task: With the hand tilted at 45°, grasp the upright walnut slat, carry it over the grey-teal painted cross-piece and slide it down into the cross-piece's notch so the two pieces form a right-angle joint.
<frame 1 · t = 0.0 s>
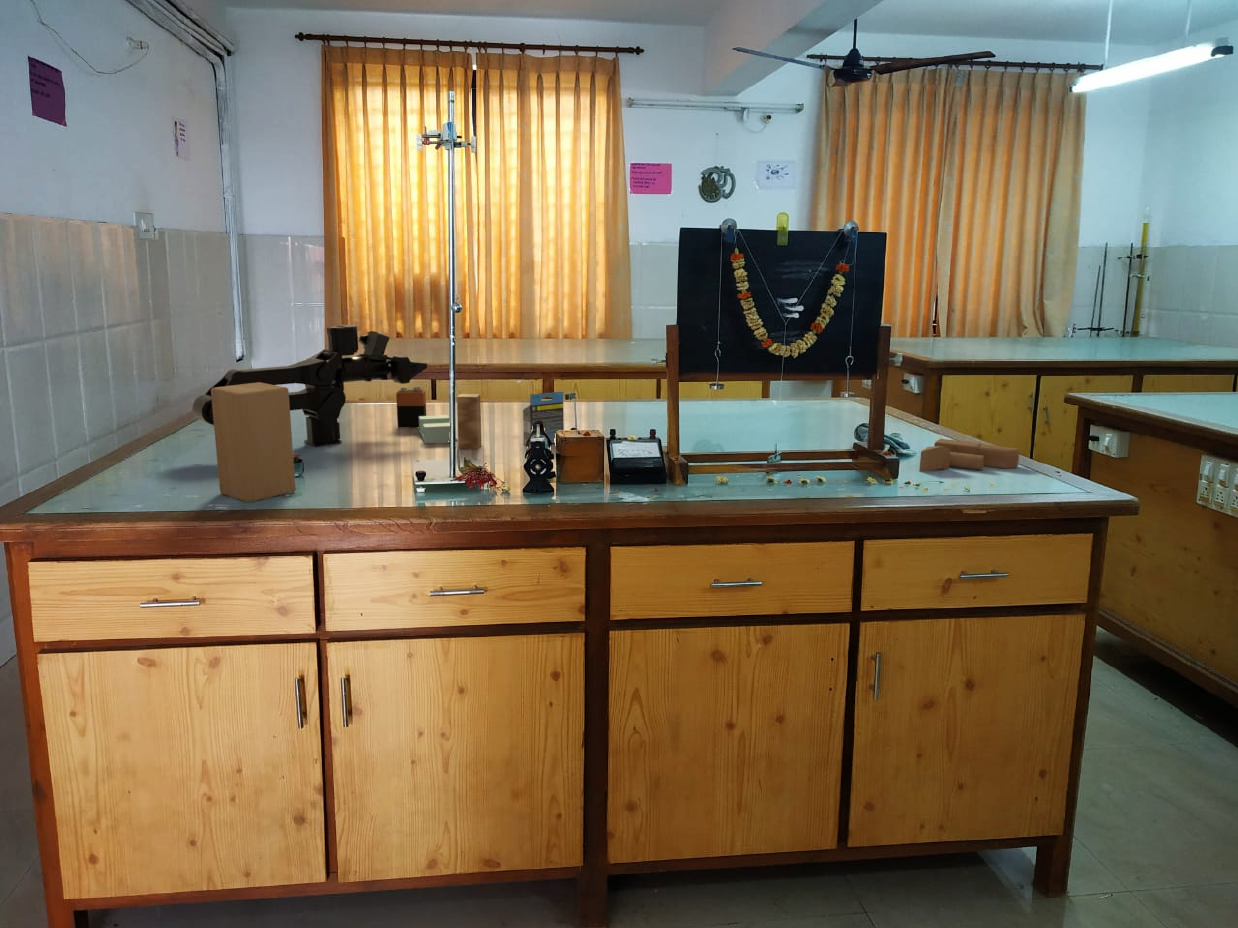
hand: (417, 363, 233), 17 cm above the table, tool horizontal, fingers open, 9 cm apart
label tape cartridge: (543, 444, 223), on the table
wooden block set: (966, 471, 203), on the table
wooden block: (258, 494, 178), on the table
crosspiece: (436, 437, 228), on the table
slat: (470, 446, 218), on the table
battery: (412, 427, 241), on the table
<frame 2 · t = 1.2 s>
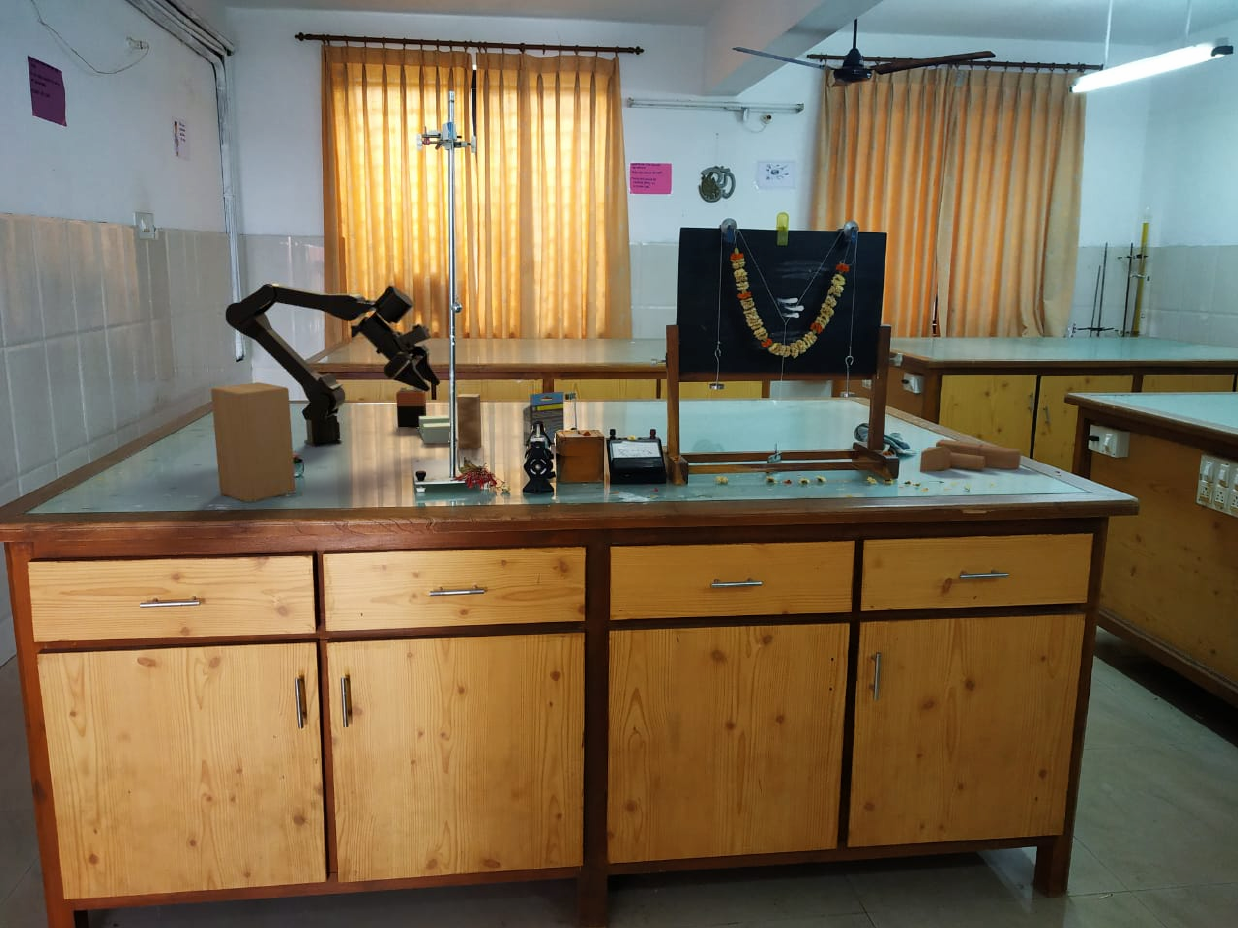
hand: (434, 387, 216), 14 cm above the table, tool tilted 45°, fingers open, 9 cm apart
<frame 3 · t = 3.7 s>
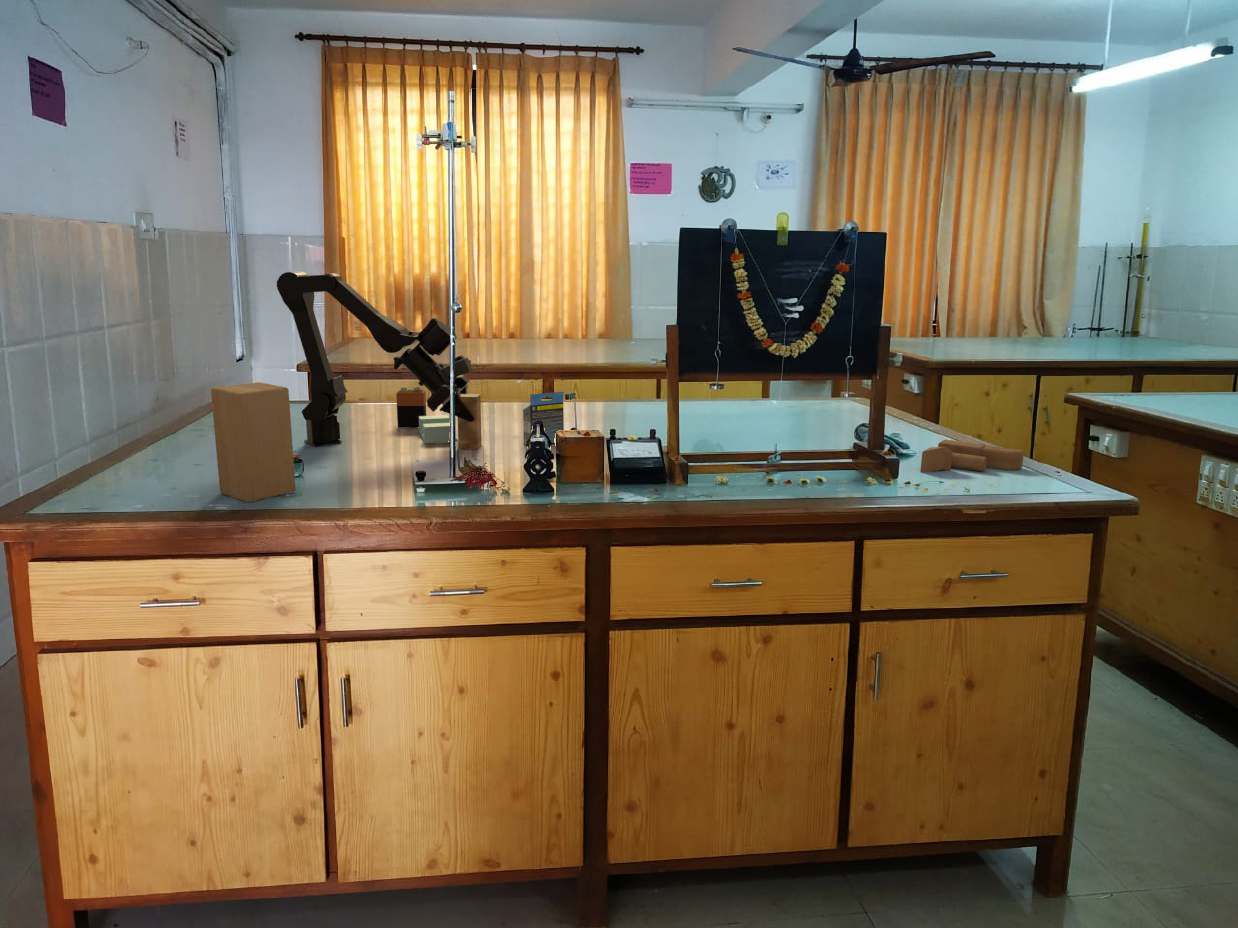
hand: (475, 418, 217), 7 cm above the table, tool tilted 45°, fingers closed on slat, 4 cm apart
slat: (470, 446, 218), on the table, touching gripper
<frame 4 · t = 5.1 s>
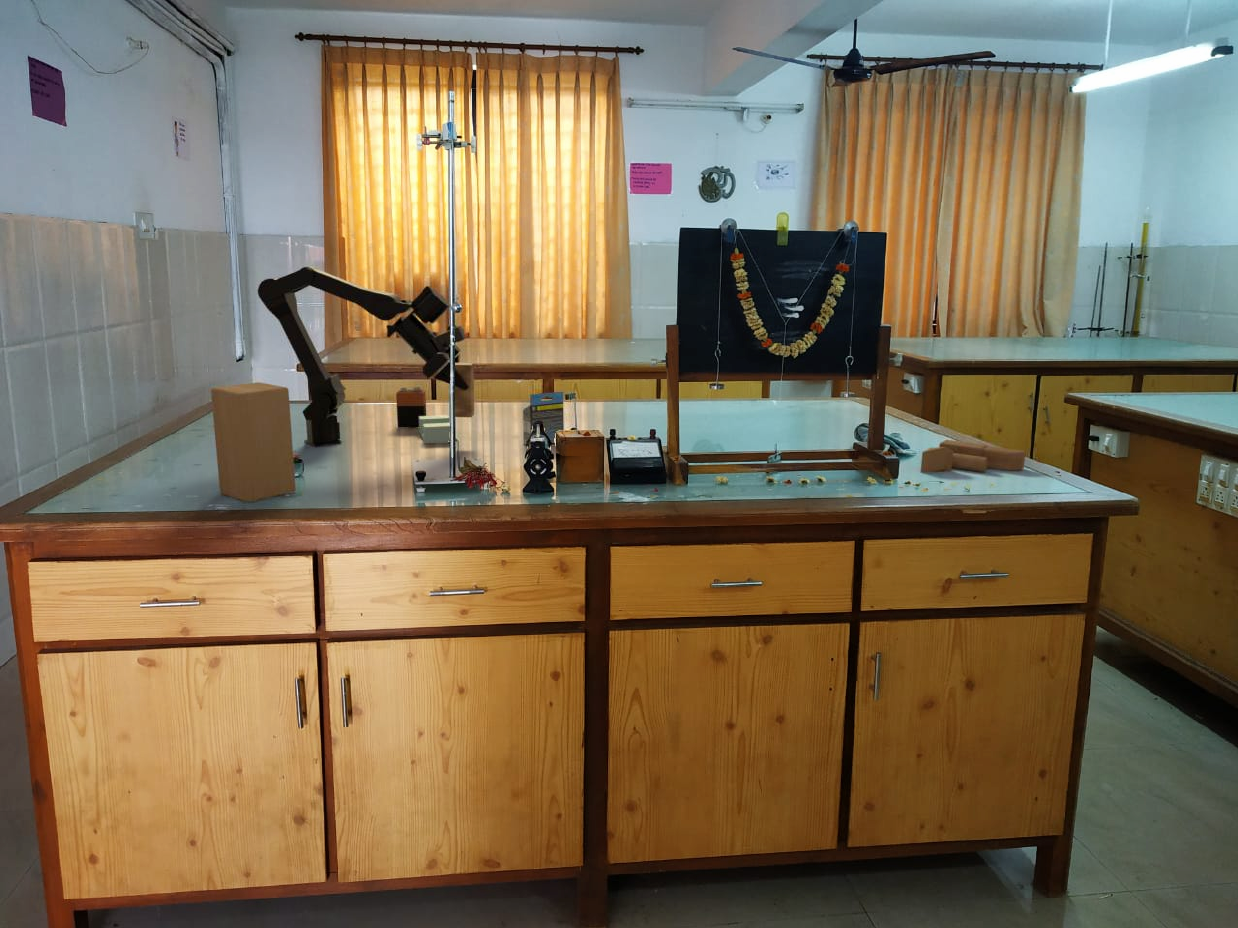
hand: (468, 387, 218), 13 cm above the table, tool tilted 45°, fingers closed on slat, 4 cm apart
slat: (463, 415, 219), point 7 cm above the table, touching gripper
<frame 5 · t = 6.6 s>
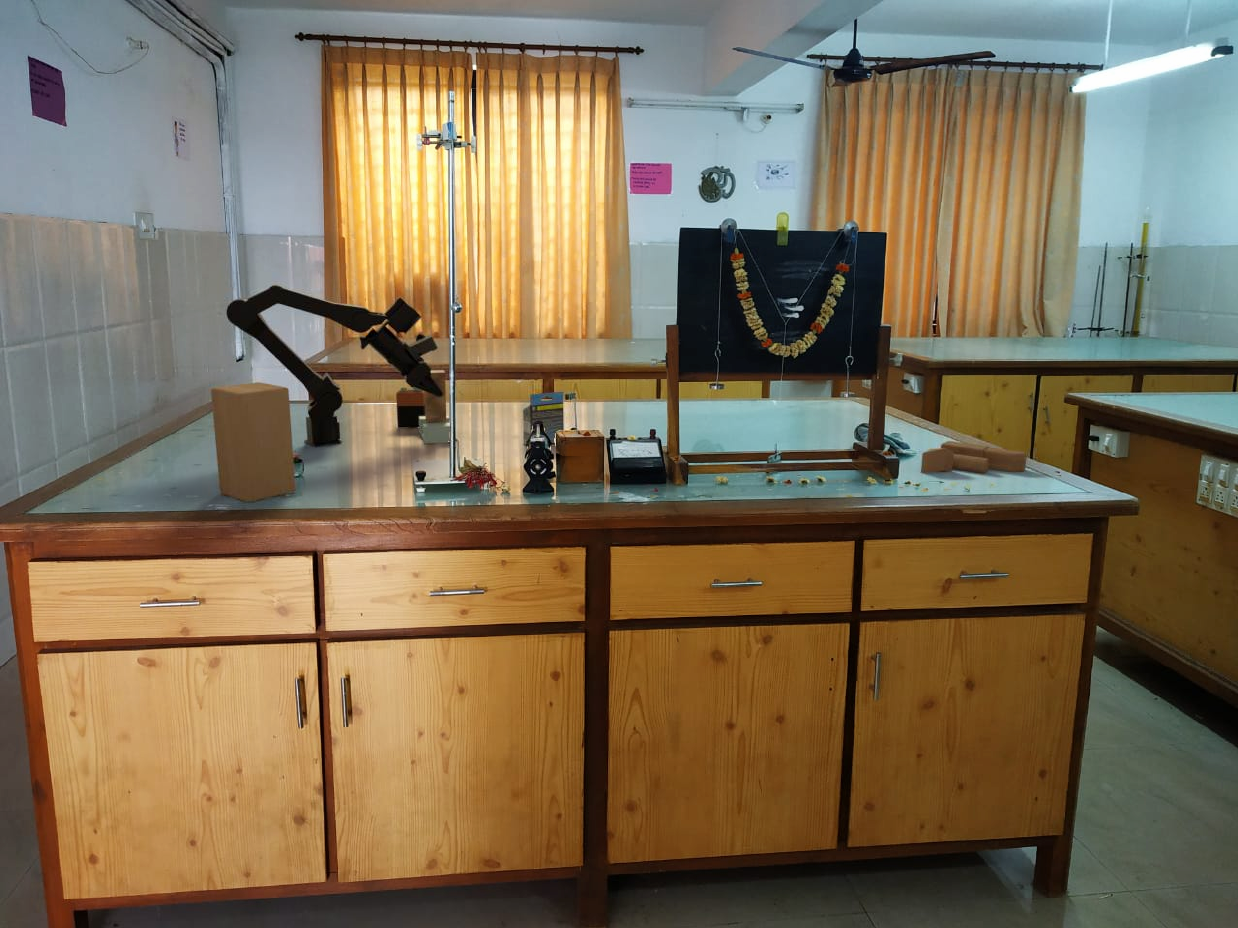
hand: (440, 394, 226), 10 cm above the table, tool tilted 45°, fingers closed on slat, 4 cm apart
slat: (435, 421, 227), point 4 cm above the table, touching gripper
when the fingers open (9 cm above the table, at t = 7.2 s): slat drops 1 cm, resting on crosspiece.
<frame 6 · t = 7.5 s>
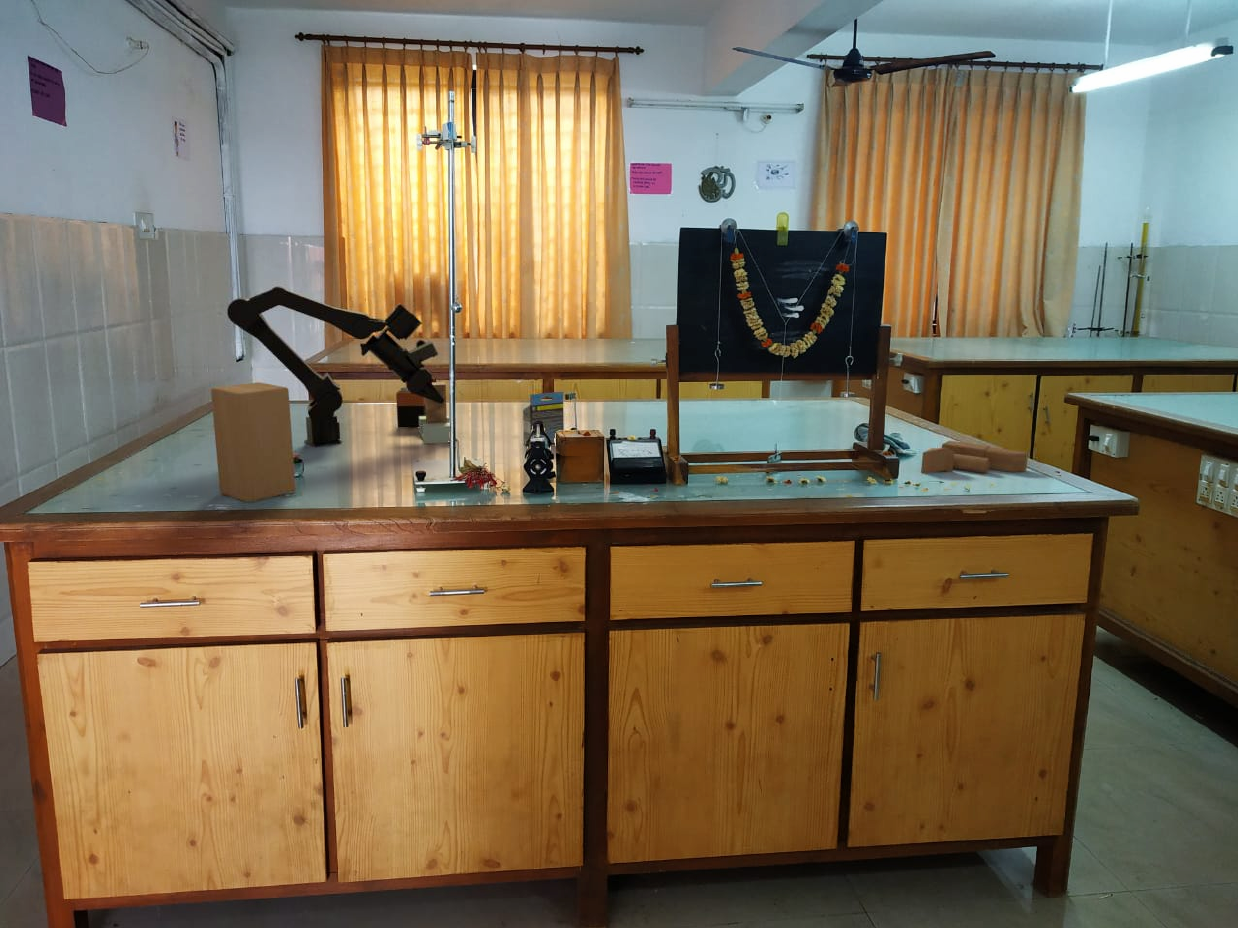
hand: (441, 399, 227), 9 cm above the table, tool tilted 45°, fingers open, 7 cm apart
slat: (436, 433, 228), point 1 cm above the table, touching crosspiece
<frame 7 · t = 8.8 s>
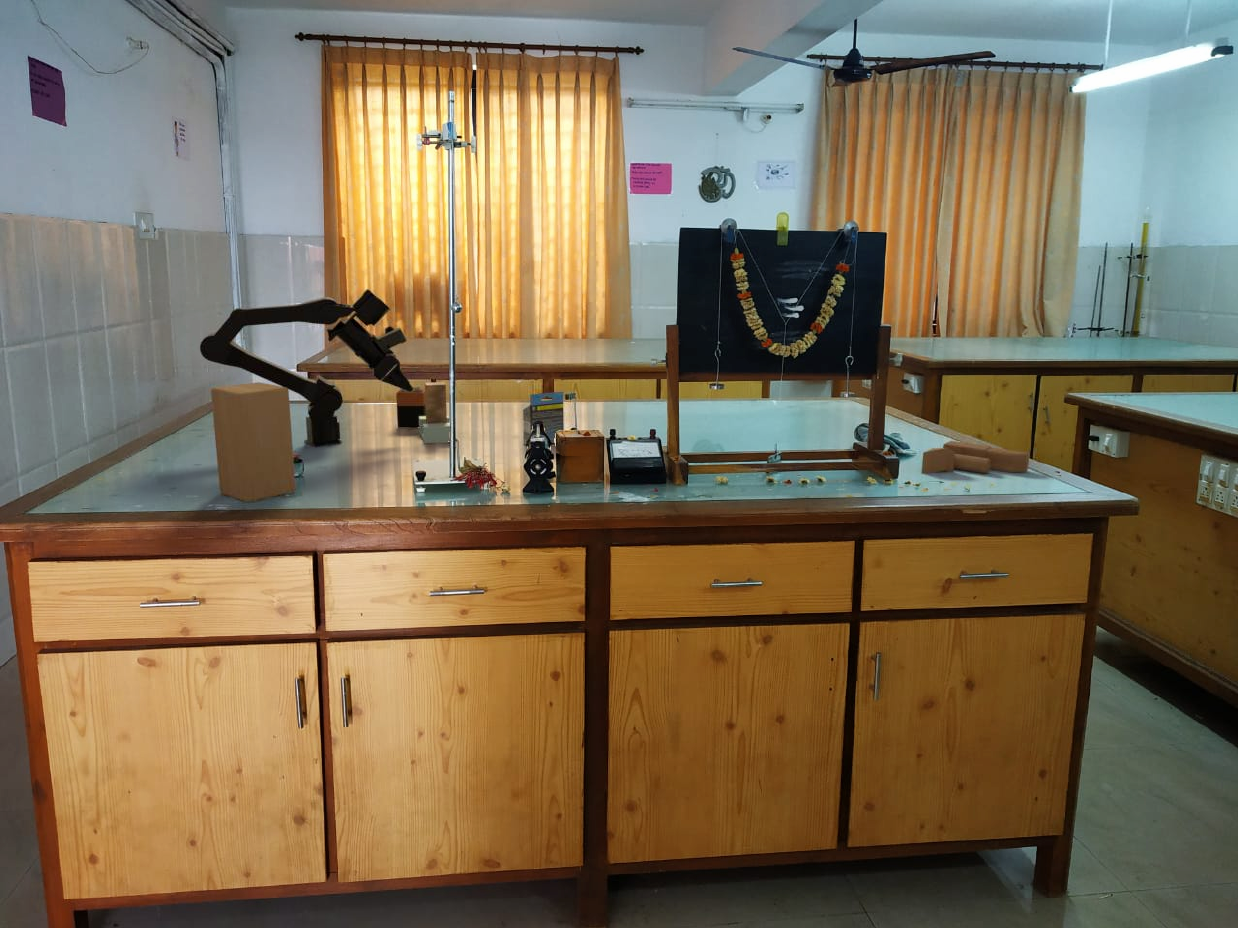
hand: (410, 387, 224), 12 cm above the table, tool tilted 45°, fingers open, 9 cm apart
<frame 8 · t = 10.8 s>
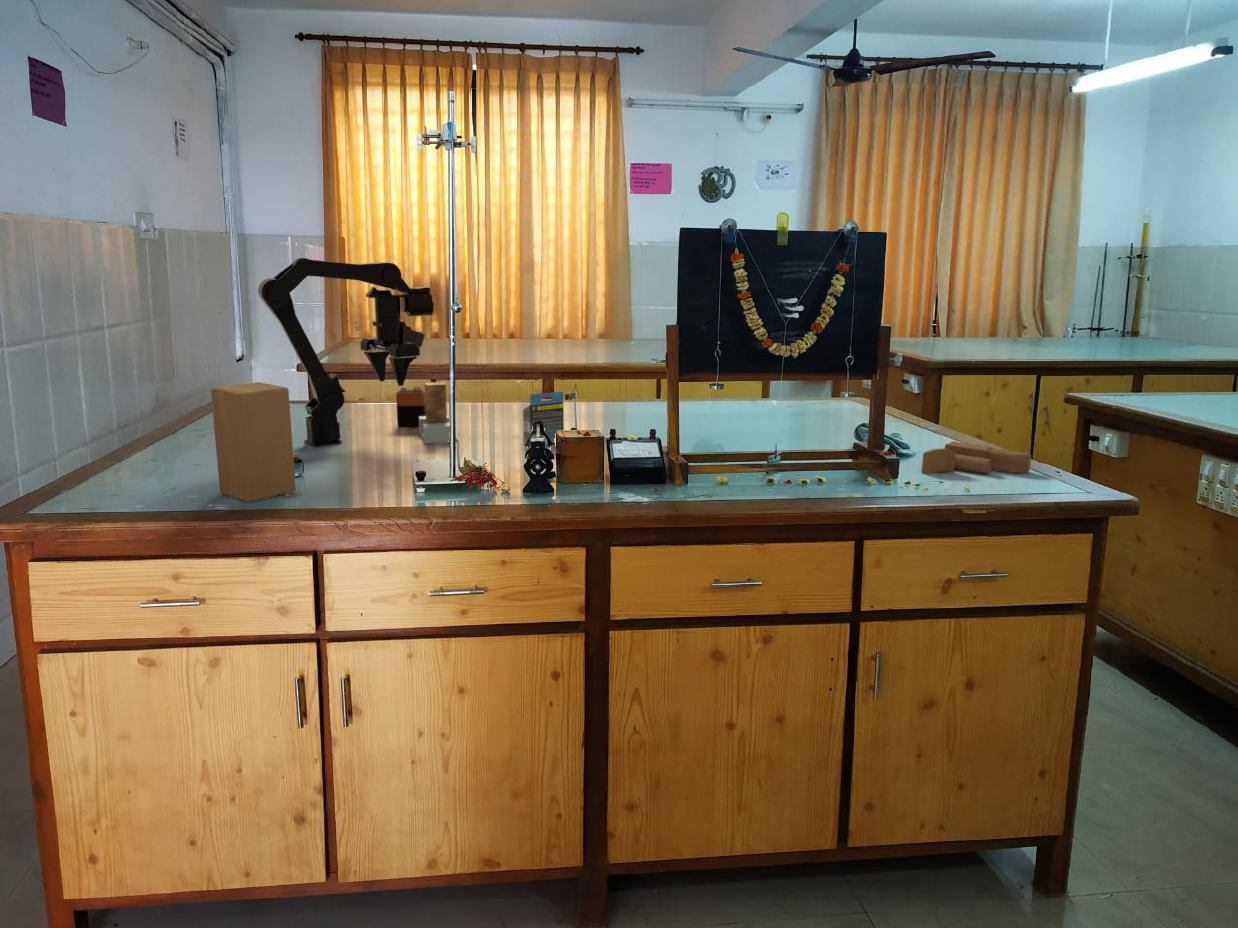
hand: (391, 383, 225), 13 cm above the table, tool pointing down, fingers open, 9 cm apart
at the end: slat 0.0 cm off-centre on the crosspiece, point 1.0 cm above the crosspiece's base; slat tilted 0°; the gripper is holding nothing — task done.
